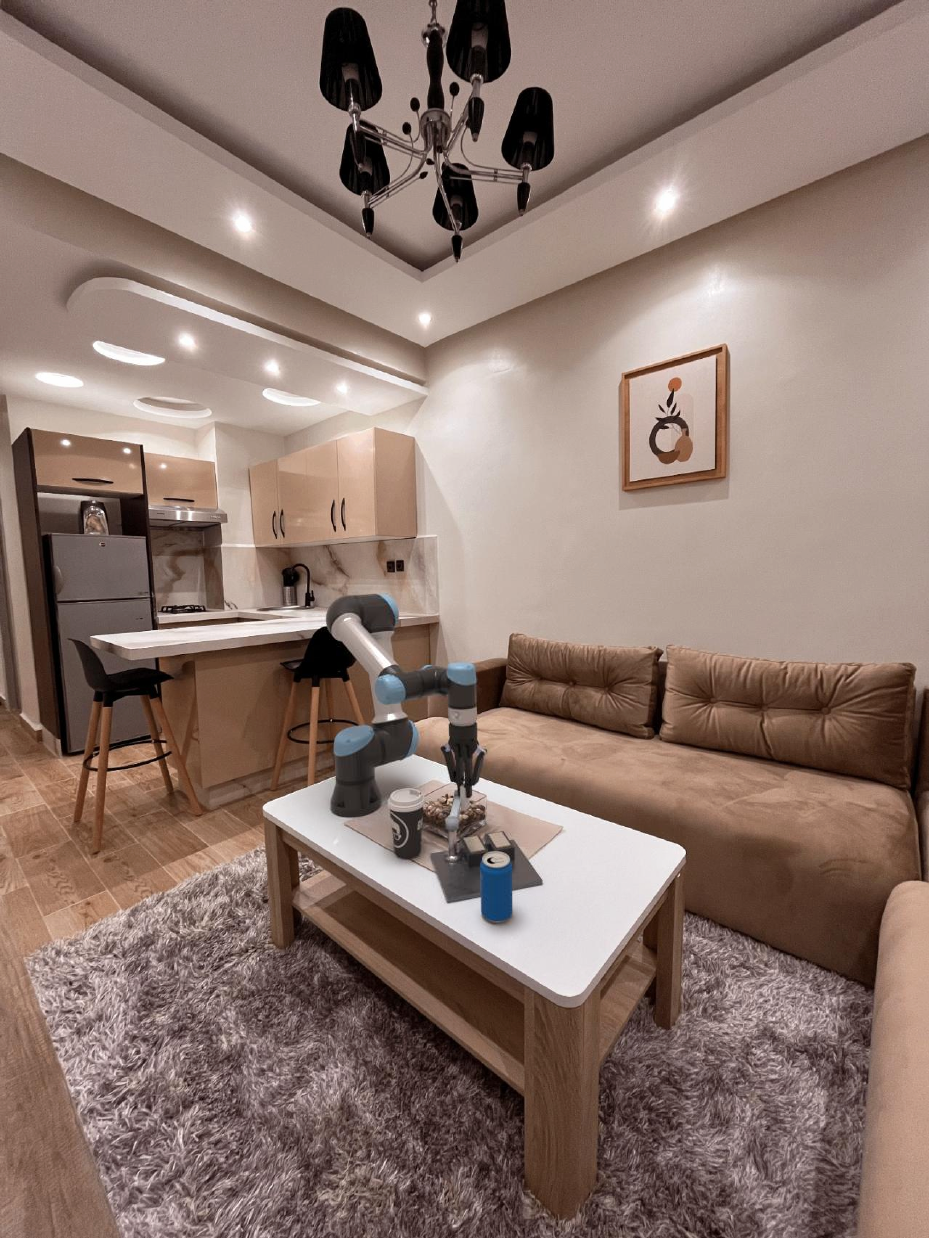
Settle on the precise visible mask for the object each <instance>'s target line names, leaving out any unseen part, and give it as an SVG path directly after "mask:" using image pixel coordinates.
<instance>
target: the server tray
mask: <svg viewBox="0 0 929 1238" xmlns="http://www.w3.org/2000/svg"><path fill="white" fill-rule="evenodd" d="M447 835H448V837H447V838H448V839H447V840H448V843H447V844H448V850H442V851H436V852H430V854H429V855H430V859H431V863H432V865H433V869H434V870H435V873H436V875H437V879H438V881H439V883H440V884H439V885H440V887H441V889H442V893H443V895H444V898H445V900H446V904H449V903H455V902H460V901H461V902H462V901H464V900H465V901H466V900H470V899H475V898H481V880H480V863H481V861H482V858H483V856H484V855H485V854H486V853H489V852H493V851H498V852H503V853H505V854H507V855H508V856H509V858H510V861H511V863H512V891H516V890H521V889H525V888H531V887H536V886H542V885H543V879H542V877H541V876H540V874H539V873H538V872H537V870H536V869H535V868H534V867H535V866H533V865H532V863H531V862H530V861H529V858H527V856H526V855H525V853H524V852H523V851H522V849H521V848H520V846H519V844H518V843H517V842H516V840H515V839H509V837H508V836H507V834H506V833H505V831H503V830H501V831H495V832H490V833H484V841H483V839H482V838H481V836H480V835H479V834H477V835H470V836H466V837H459V848H458V843H457V839H458V838H457V836H458V835H457V830H454V831H450V830H447Z"/></svg>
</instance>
